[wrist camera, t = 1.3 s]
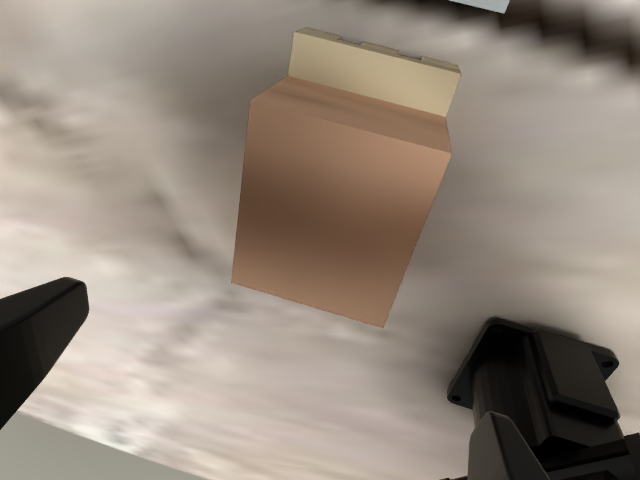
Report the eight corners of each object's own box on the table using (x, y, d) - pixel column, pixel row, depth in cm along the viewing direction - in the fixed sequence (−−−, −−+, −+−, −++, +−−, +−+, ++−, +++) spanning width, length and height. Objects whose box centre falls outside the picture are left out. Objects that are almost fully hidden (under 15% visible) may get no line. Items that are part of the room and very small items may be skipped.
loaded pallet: (384, 268, 21) (372, 355, 16) (273, 236, 22) (228, 311, 17) (457, 64, 16) (472, 100, 11) (307, 27, 16) (256, 44, 11)
